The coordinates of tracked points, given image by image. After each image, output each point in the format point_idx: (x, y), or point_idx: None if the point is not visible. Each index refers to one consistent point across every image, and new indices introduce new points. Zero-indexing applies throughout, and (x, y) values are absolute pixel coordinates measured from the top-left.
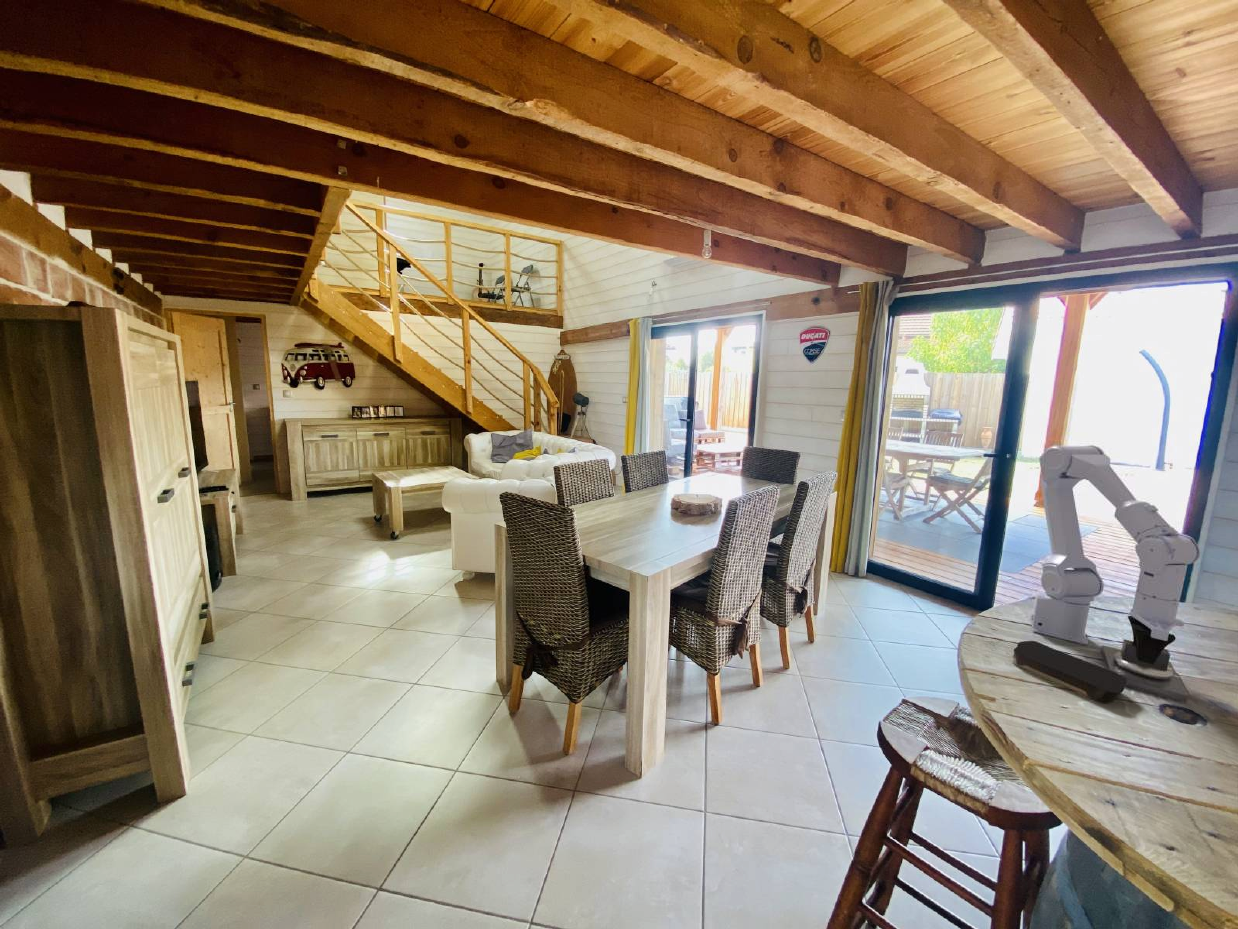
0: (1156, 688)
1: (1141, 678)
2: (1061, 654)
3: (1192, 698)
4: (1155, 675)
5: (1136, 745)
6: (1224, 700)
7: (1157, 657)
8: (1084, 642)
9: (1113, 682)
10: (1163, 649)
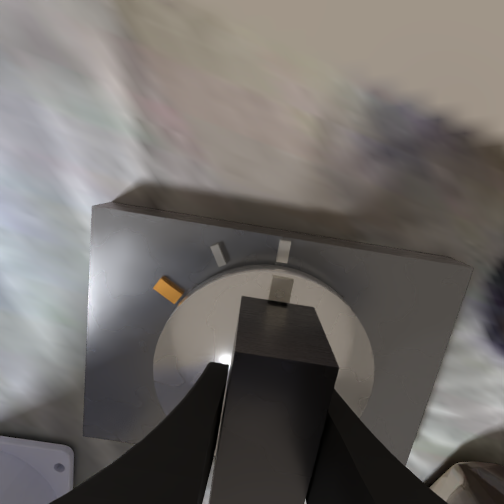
0: (437, 359)
1: (378, 392)
2: None
3: (388, 217)
4: (371, 359)
5: None
6: (340, 84)
7: (350, 410)
8: (64, 461)
9: None
10: (406, 468)
